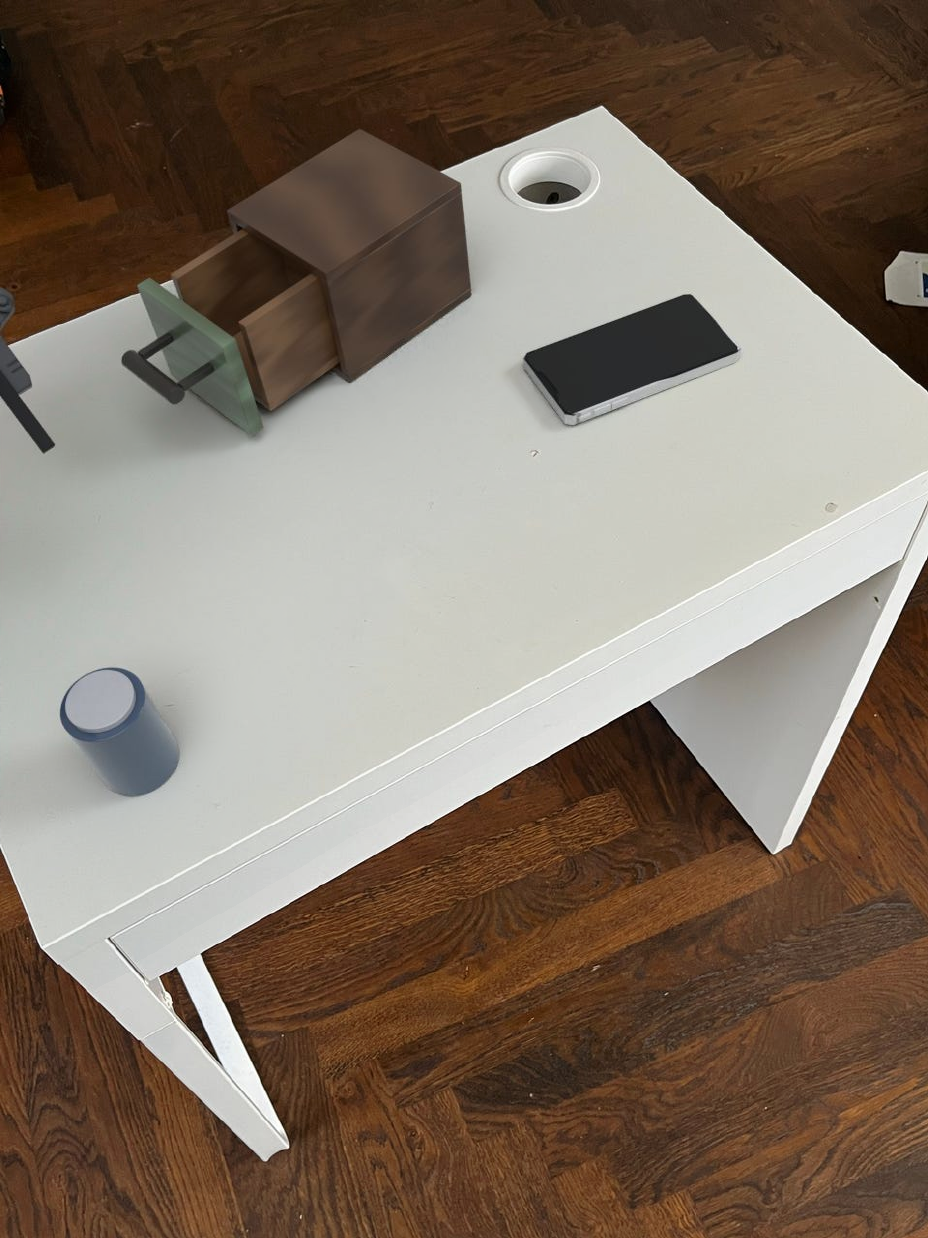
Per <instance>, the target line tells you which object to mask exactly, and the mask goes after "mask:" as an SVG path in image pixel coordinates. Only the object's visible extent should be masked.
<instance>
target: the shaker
mask: <svg viewBox="0 0 928 1238" xmlns="http://www.w3.org/2000/svg"><path fill="white" fill-rule="evenodd" d="M59 720H60V723H61V725H62V728H63V729H64V730H65V732H66V733H67V735H68V736H69V737H70V739H71V740H72V742H73V743H74V744H75V745H76V747H77V748H78V750H79V751H80V752H81V753H82V755H83V756H84V757H85V759H86V760H87V761H88V763H89V764H90V766H91V767H92V768H93V770H94V771H95V772H96V774H97V776H98V777H99V778H100V779H101V781H102V782H103V783H104V785H105V786H106V787H107V788H108V789H109V790H110V791H111V792H113V793H115V794H118V795H121V796H125V797H140V796H145V795H147V794H149V793H151V792H155V791H156V790H157V789H160V788H161V787H162V786H163V785H164V784H165V783H166V782H167V781H168V780H169V779H170V778H171V777H172V775H173V774H174V772H175V770H176V769H177V766H178V763H179V759H180V758H179V757H180V748H179V745H178V742H177V740H176V738H175V736H174V734H173V733H172V731H171V729H170V728H169V726H168V724H167V722H166V721H165V719H164V718H163V717H162V714H161V713H160V710H159V709H158V708H157V705H156V704H155V703H154V701H153V698H152V697H151V696H150V694H149V692H148V690H147V689H146V687H145V686H144V683H143V682H142V680H141V679H140V677H138V676H137V675H136V674H135V673H133V672H132V671H130V670H128V669H125V668H122V667H113V666H112V667H111V666H110V667H101V668H99V669H95V670H91V671H90V672H87V673H86V674H84V675H82V676H80V678H78V679H77V680H76V681H74V682H73V684H71V686H70V687H69V688H68V689H67V691H66V692H65V694H64V695H63V698H62V700H61V702H60V707H59Z"/></svg>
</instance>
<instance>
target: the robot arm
mask: <svg viewBox="0 0 928 1238" xmlns="http://www.w3.org/2000/svg"><path fill="white" fill-rule="evenodd" d="M15 305H16V304H15V298H14V296H13V294H12V293H11V292H10V291H8V290H7V289H6V288H3V287H2V286H0V398H1V400H2V401H3V402H4V403H5V405H6V406H7V407H8V409H9V410H10V412H11V413H12V414H13V416H14V417H15V418H16V420H17V421H18V422H19V423H20V425H21V426H22V428H23V429H24V430H25V432H26V433H27V435H28V436H29V437H30V439H31V440H32V441H33V442H34V443H35V446H37V448H38V449H39V451H40V452H41V453H42V454H43V455H44V454H46V453H47V452H49V451H51V450H52V449H53V448H55V446H56V443H55V441H54V440H53V439H52V438H51V437H50V435H49V433H48V432H47V430H45V428H44V427H43V425H42V424H41V423H40V422H39V420H38V419H37V418H36V416H35V415H34V413H33V412H32V411H31V409H30V408H29V406H28V405H27V403H26V402H25V400H23V398H22V397H21V395H22V394H24V393H25V392H27V391H28V390H30V389H33V383H32V379H31V375H30V374H29V373H28V371H27V370H26V369H25V367H24V365H23V363H21V361H20V360H19V358H18V357H17V356H16V355H15V353H14V352H13V350H11V348H10V347H9V345H8V344H7V343H6V341H5V340H4V338H3V336H2V334H1V333H2V329H3V327H5V325H6V323H7V322H8V320H9V319H10V318H11V317H12V316H13V315H14V313H15V310H16V307H15Z"/></svg>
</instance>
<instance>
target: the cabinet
mask: <svg viewBox="0 0 928 1238" xmlns="http://www.w3.org/2000/svg"><path fill="white" fill-rule="evenodd" d="M462 191H463V189H462V182H460V181H458V180H456V179H454V178H453V177H451V176H449V175H447V174H445V173H443V172H441V171H439V170H437V169H436V168H435V167H432V166H430V165H428V164H426V163H425V162H423V161H421V160H419V159H417V158H415V157H413V156H411V155H410V154H408V153H406V152H404V151H402V150H400V149H399V148H396V147H395V146H392V145H391V144H389V143H387V142H385V141H384V140H381V138H378V137H376V136H374V135H372V134H370V133H369V132H366V131H365V130H363V129H360V128H358V129H357V130H355V131H353V132H352V133H350V134H349V135H347V136H346V137H344V138H342V139H341V140H339V141H337V142H336V143H334V144H332V145H331V146H329V147H328V148H326V149H324V150H322V151H321V152H319V153H318V154H316V155H315V156H313V157H311V158H310V159H308V160H306V161H304V163H302V164H300V165H298V166H296V167H294V168H293V169H291V170H290V171H289V172H287V173H286V174H284V175H282V176H281V177H279V178H277V179H276V180H274V181H272V182H271V183H269V184H268V185H266V186H264V187H263V188H261V189H260V190H258V191H257V192H255V193H253V194H251V195H250V196H248V197H247V198H245V199H243V200H242V201H240V202H239V203H237V204H235V205H234V206H231V207H230V208H229V209H227V210H226V214H227V216H228V220H229V223H230V226H231V227H230V228H231V230H232V233H233V234H232V235H234V234H235V233H237V232H239V231H240V230H242V229H245V230H247V231H248V232H250V233H251V234H253V235H254V236H256V237H257V238H259V239H261V240H262V241H264V242H265V243H267V244H268V245H270V246H272V247H273V248H275V249H276V250H278V251H279V252H281V253H283V254H284V255H286V256H287V257H289V258H290V259H292V260H293V261H295V262H297V263H298V264H300V265H301V266H303V267H304V268H306V269H308V270H309V271H311V272H312V273H314V274H315V275H317V276H319V277H320V278H321V281H322V285H323V289H324V294H325V298H326V303H327V307H328V312H329V316H330V320H331V325H332V329H333V334H334V338H335V343H336V347H337V351H338V356H339V360H340V362H339V363H338V364H337V365H335V366H334V367H332V368H331V369H330V370H329V371H331V372H333V373H334V374H335V375H337V376H338V377H339V378H342V380H344V381H346V382H347V383H349V384H352V383H353V382H354V381H356V380H358V379H359V378H360V377H361V376H362V375H364V374H365V373H366V372H368V371H369V370H371V369H372V368H373V367H375V366H377V365H378V364H380V362H382V361H383V360H385V359H386V358H388V356H390V355H392V354H393V353H395V352H396V351H397V350H398V349H400V348H401V347H403V346H404V345H406V344H407V343H408V342H410V341H411V340H412V339H414V338H415V337H416V336H418V335H419V334H421V333H423V331H425V330H426V329H428V328H429V327H430V326H432V325H433V324H434V323H436V322H437V321H439V320H440V319H441V318H443V317H444V316H445V315H447V314H449V312H451V311H452V310H454V309H456V308H457V307H458V306H460V305H461V304H462V303H463V302H465V301H466V300H467V299H469V298H470V297H472V285H471V284H472V283H471V273H470V264H469V254H468V253H469V252H468V245H467V244H468V242H467V234H466V223H465V221H466V220H465V213H464V202H463V193H462Z"/></svg>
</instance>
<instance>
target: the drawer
mask: <svg viewBox="0 0 928 1238" xmlns="http://www.w3.org/2000/svg"><path fill="white" fill-rule="evenodd" d="M170 277H171V280H172V282H173V283H172V284H173V285H174V289H175V291H176V294H177V296H176V295H175V294H173V293H172V292H171V291H169V290H168V289H166V288H165V287H163V286H162V285H161V284H159V283H158V282H157V281H155V280H153V279H152V278H151V277H147V278H146V279H144V280H143V281H141V282H139V283H138V284H137V285H136V286H137V290H138V292H139V295H140V298H141V300H142V303H143V305H144V307H145V311H146V313H147V316H148V319H149V321H150V323H151V326H152V328H153V330H154V333H155V335H156V339H155V340H153V341H152V342H150V343H148V344H147V345H145V346H144V347H142V348H141V349H139V350H137V351H136V350H134V349H129V350H126V351H125V352H124V353H123V354H122V355H121V358H120V360H121V361H120V362H121V365H122V367H124V368H125V369H127V371H129V372H130V373H131V374H133V375H134V376H135V377H137V378H138V379H139V380H141V381H142V382H143V383H145V385H146V386H148V387H149V388H150V389H152V390H153V391H154V392H156V394H158V395H159V396H161V397H162V398H163V399H164V400H165V401H167V402H168V403H170V405H171V404H172V405H178V404H180V403H181V402H182V401H183V400H184V398H185V395H186V391H188V390H191V391H192V392H193V393H195V394H196V395H197V396H198V397H200V398H201V399H202V400H204V401H205V402H206V403H207V404H209V405H210V406H212V407H213V408H214V409H216V410H217V411H218V412H220V413H221V414H222V415H223V416H225V417H226V418H227V419H229V420H230V421H231V422H232V423H234V424H235V425H236V426H237V427H238V428H240V429H242V430H243V431H244V432H246V433H247V434H248V435H249V436H251V437H253V436H255V435H257V433H259V432H260V431H262V430H264V425H263V420H262V418H261V415H260V412H259V409H258V405H257V403H256V402H258V403H259V404H260V405H262V406H263V407H264V408H266V409H267V410H268V411H270V412H271V411H274V409H276V408H277V407H279V406H280V405H282V404H284V403H285V402H286V401H288V399H290V398H292V397H293V396H295V395H297V393H299V392H300V391H302V390H303V389H305V388H306V387H307V386H308V385H310V384H312V383H313V382H314V381H316V380H317V379H318V378H320V377H321V376H323V375H324V374H325V373H328V371H331V370H330V369H331V368H332V367H334V366H335V365H337V364H338V363H339V362H340V360H339V356H338V351H337V347H336V343H335V338H334V334H333V329H332V325H331V320H330V316H329V312H328V307H327V303H326V298H325V294H324V289H323V285H322V281H321V278H320V277H319V276H317V275H315V274H314V273H312V272H311V271H309V270H308V269H306V268H304V267H303V266H301V265H300V264H298V263H297V262H295V261H293V260H292V259H290V258H289V257H287V256H286V255H284V254H283V253H281V252H279V251H278V250H276V249H275V248H273V247H272V246H270V245H268V244H267V243H265V242H264V241H262V240H261V239H259V238H257V237H256V236H254V235H253V234H251V233H250V232H248V231H247V230H245V229H242V230H240V231H239V232H237V233H235V234H232V235H230V236H229V237H227V238H226V239H224V240H223V241H221V242H219V243H218V244H216V245H215V246H213V247H211V248H210V249H208V250H206V251H205V252H204V253H202V254H200V255H199V256H197V257H196V258H194V259H192V260H191V261H189V262H187V263H186V264H185V265H183V266H181V267H180V268H178V269H176V270H174V271H173V272H172V273H171V274H170ZM160 351H161V352H162V353H163V356H164V360H165V361H166V365H167V367H168V369H169V372H170V374H171V376H173V377H174V378H175V379H177V380H178V382H176V381H175V380H173V379H172V378H171V377H170V376H168V375H167V374H166V373H164V372H163V371H162V370H160V368H158V367H156V366H155V365H154V364H153V363H152V362H150V361H149V360H148V359H149V358H151V357H153V356H154V355H155V354H157V353H158V352H160Z"/></svg>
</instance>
